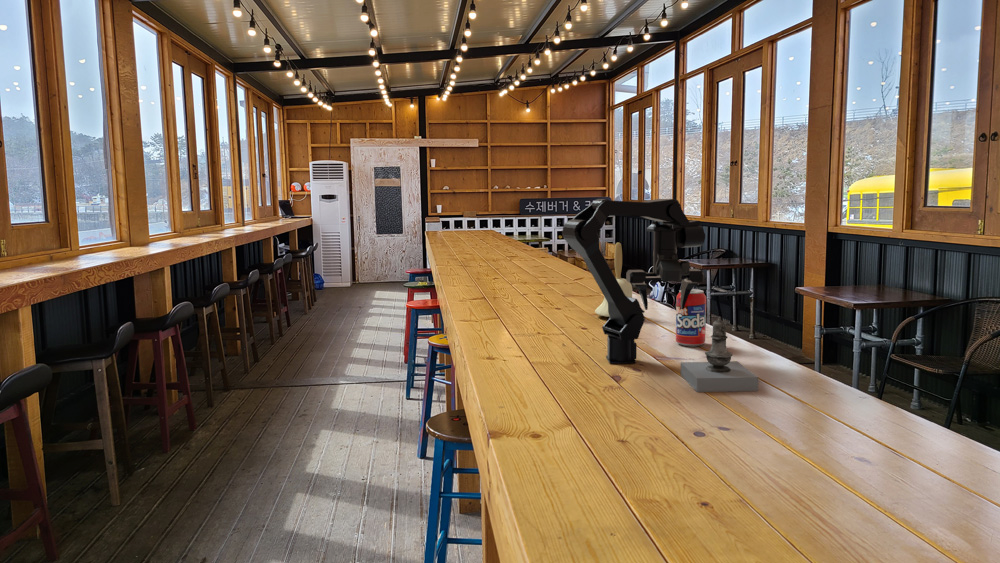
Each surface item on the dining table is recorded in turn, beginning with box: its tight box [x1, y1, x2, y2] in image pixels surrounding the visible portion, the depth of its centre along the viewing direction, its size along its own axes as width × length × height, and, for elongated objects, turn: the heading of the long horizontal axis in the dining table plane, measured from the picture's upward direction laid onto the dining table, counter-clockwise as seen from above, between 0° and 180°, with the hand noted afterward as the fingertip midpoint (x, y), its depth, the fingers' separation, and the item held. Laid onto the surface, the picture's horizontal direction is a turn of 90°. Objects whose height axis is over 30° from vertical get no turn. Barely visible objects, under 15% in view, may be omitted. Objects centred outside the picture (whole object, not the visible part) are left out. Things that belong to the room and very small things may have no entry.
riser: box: [680, 360, 760, 393], centre depth 149 cm, size 13×13×3 cm
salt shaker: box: [704, 315, 734, 373], centre depth 148 cm, size 6×6×12 cm
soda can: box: [675, 288, 707, 348], centre depth 183 cm, size 8×8×15 cm
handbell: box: [594, 242, 633, 318], centre depth 222 cm, size 15×15×25 cm
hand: (664, 309), depth 172 cm, fingers open, 9 cm apart
